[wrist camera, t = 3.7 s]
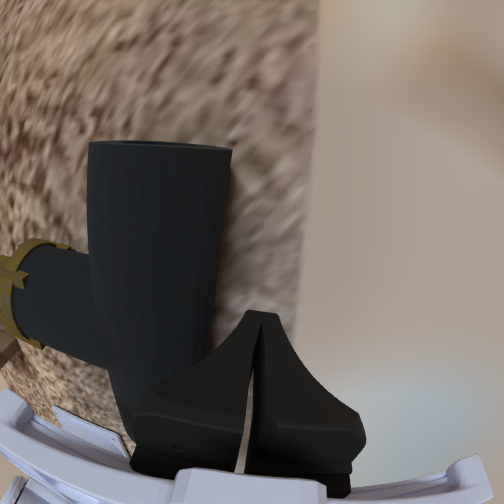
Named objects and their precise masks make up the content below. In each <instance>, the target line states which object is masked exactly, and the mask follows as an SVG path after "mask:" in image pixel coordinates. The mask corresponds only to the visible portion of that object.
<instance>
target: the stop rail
mask: <svg viewBox="0 0 504 504" xmlns="http://www.w3.org/2000/svg"><path fill="white" fill-rule="evenodd" d="M19 349H20V347H19V344H18V342H17V339H16V338H15V337H13V336H11V335H10V334H8V333H6V332H4V331H2V330H1V329H0V369H1V368H2V367H3V366H4V365H5V364H6V363H7V362H8V361H9V360H10V359H11V358H12V357H13V355H14V354H15V353H16V352H17V351H18V350H19Z"/></svg>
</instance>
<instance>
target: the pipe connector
mask: <svg viewBox="0 0 504 504" xmlns="http://www.w3.org/2000/svg"><path fill="white" fill-rule="evenodd" d="M231 157H232V149H228V148H222V147H215V146H208V145H198V144H188V143H176V142H161V141H130V140H124V141H96V142H90V143H89V150H88V167H87V231H88V248H89V255H88V254H84V253H79V252H75V251H71V246H68V245H63V244H59V243H54V242H50V241H45V240H41V239H36V238H31V239H29V240H28V241H26V242H24V243H22V244H20V245H19V246H18V249H17V250H16V251H15V252H14V253H13V254H12V256H11V257H8V256H5V255H1V256H0V304H1V309H0V319H1V321H2V324H3V327H4V330H5V331H6V332H8V333H9V334H11V335H13V336H15V337H17V338H19V339H21V340H22V341H24V342H26V343H28V344H30V345H32V346H34V347H36V348H38V349H41V350H43V349H44V348H45V346H46V345H47V346H49V347H51V348H53V349H56V350H58V351H60V352H63V353H65V354H68V355H70V356H72V357H75V358H77V359H80V360H83V361H85V362H88V363H91V364H93V365H96V366H99V367H102V368H105V369H107V370H108V374H109V378H110V382H111V386H112V389H113V393H114V396H115V400H116V403H117V406H118V410H119V413H120V416H121V419H122V422H123V425H124V428H125V430H126V432H127V434H128V436H129V437H130V438H131V440H132V441H133V442H135V440H134V438H133V435H132V432H131V429H130V427H129V419H130V417H131V415H132V413H133V411H134V409H135V406H136V404H137V403H138V401H139V400H140V398H141V397H142V395H143V394H144V393H145V391H146V390H147V389H148V388H149V386H151V385H154V384H157V383H160V382H162V381H165V380H168V379H170V378H172V377H174V376H176V375H178V374H180V373H182V372H184V371H186V370H188V369H189V368H191V367H193V366H194V365H196V364H197V363H199V362H200V361H201V360H203V359H204V358H206V357H207V356H208V355H209V352H210V340H211V329H212V318H213V307H214V297H215V287H216V278H217V269H218V260H219V251H220V242H221V234H222V225H223V217H224V209H225V201H226V194H227V186H228V179H229V171H230V164H231Z"/></svg>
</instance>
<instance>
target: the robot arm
mask: <svg viewBox="0 0 504 504" xmlns="http://www.w3.org/2000/svg"><path fill="white" fill-rule="evenodd" d="M253 367H254V373H253V412H252V421H251V428H250V436H249V443H248V449H247V456H246V463H245V469H244V474H240V473H234V470H235V467H236V463H237V458H238V454H239V449H240V445H241V440H242V435H243V430H244V423H245V416H246V406H247V396H248V388H249V383H250V379H251V375H252V371H253ZM52 410H53V412H54V414H55V415H56V417H57V419H58V420H59V422H60V424H61V427H60V428H59V427H57V426H55V425H54V424H52V423H50V422H48V421H46V420H45V419H43V418H41V417H40V416H38V415H36V414H35V413H34V411H33V409H32V408H31V406H30V405H29V403H28V402H27V401H26V400H25V399H24V398H22V397H21V396H19V395H18V394H16V393H15V392H13V391H12V390H10V389H9V388H5V389H4V390H3V391H2V393H1V394H0V453H1V454H2V455H3V456H4V457H5V458H6V459H7V460H8V461H10V462H11V463H12V464H14V465H15V466H16V467H18V468H19V469H20V470H22V471H23V472H24V473H26V474H27V475H28V476H30V478H28V479H27V481H26V479H25V478H23V477H22V476H20V477H17V476H15V477H14V478H13V480H12V482H11V484H10V485H9V487H8V489H7V491H6V492H5V494H4V496H3V498H2V500H1V502H0V504H484V503H486V502H487V501H488V500H490V499H491V498H493V496H494V495H493V492H492V489H491V486H490V483H489V480H488V477H487V475H486V472H485V469H484V467H483V464H482V461H481V459H480V456H479V454H475V455H472V456H469V457H465V458H463V459H460V460H458V461H456V462H455V463H453V464H452V465H451V466H450V467H449V468H448V469H447V470H446V471H443V472H439V473H435V474H431V475H427V476H423V477H419V478H414V479H410V480H405V481H399V482H394V483H387V484H381V485H373V486H365V487H355V488H351V485H350V476H349V474H351V473H352V463H351V462H352V461H353V460H354V459H355V458H356V457H357V455H358V454H359V453H360V452H361V451H362V450H363V448H364V446H365V444H366V435H365V430H364V427H363V424H362V421H361V419H360V416H359V414H358V413H357V412H355V411H354V410H353V409H351V408H349V407H348V406H347V405H345V404H343V403H342V402H341V401H339V400H338V399H337V398H336V397H334V396H333V395H332V394H331V393H329V392H328V391H327V390H326V389H325V388H324V387H323V386H322V385H321V384H320V383H319V382H318V381H317V380H316V379H315V378H314V377H313V376H312V375H311V373H310V372H309V371H308V370H307V368H306V367H305V366H304V364H303V363H302V362H301V360H300V359H299V357H298V355H297V354H296V352H295V351H294V349H293V347H292V345H291V343H290V342H289V340H288V338H287V336H286V334H285V331H284V329H283V327H282V324H281V322H280V319H279V316H278V315H277V314H275V313H268V312H261V311H255V310H247V311H246V312H245V314H244V316H243V318H242V319H241V321H240V322H239V324H238V325H237V327H236V328H235V329H234V330H233V332H232V333H231V334H230V335H229V336H228V337H227V338H226V339H225V340H224V342H223V343H222V344H221V345H220V346H219V347H217V348H216V349H215V350H214V351H213V352H212V353H211V354H209V355H208V356H207V357H206V358H204V359H203V360H201V361H200V362H199V363H197V364H196V365H194V366H193V367H191V368H189V369H188V370H186V371H184V372H182V373H180V374H178V375H176V376H174V377H172V378H170V379H168V380H165V381H162V382H160V383H157V384H154V385H151V386H149V388H148V389H147V390H146V391H145V393H144V394H143V395H142V397H141V398H140V400H139V401H138V403H137V404H136V406H135V409H134V411H133V413H132V415H131V417H130V419H129V427H130V429H131V432H132V435H133V438H134V440H135V443H136V445H137V446H136V448H135V450H134V453H133V455H132V457H131V459H130V458H129V456H128V454H127V451H126V449H125V447H124V445H123V443H122V441H121V438H120V436H119V435H118V434H116V433H114V432H112V431H109V430H107V429H104V428H102V427H99V426H97V425H95V424H92V423H90V422H88V421H85V420H83V419H81V418H79V417H77V416H74V415H72V414H70V413H68V412H66V411H64V410H62V409H60V408H58V407H56V406H53V407H52ZM25 481H26V483H25Z"/></svg>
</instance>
